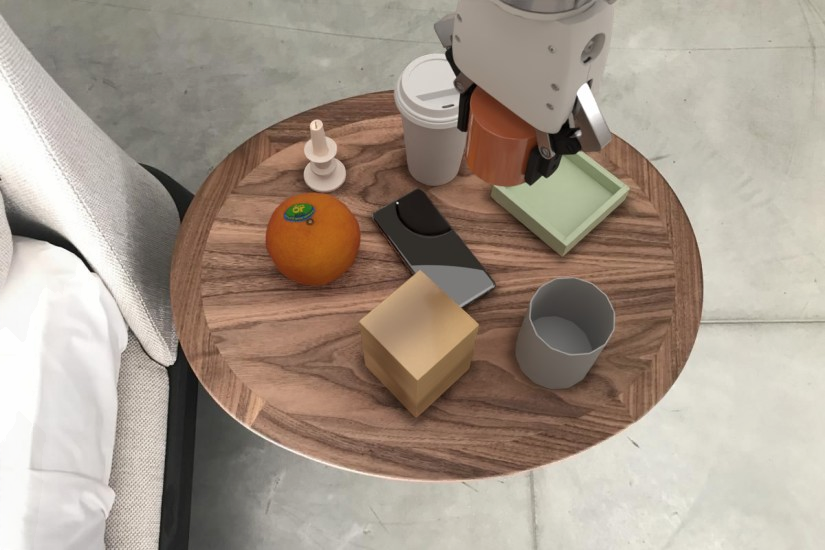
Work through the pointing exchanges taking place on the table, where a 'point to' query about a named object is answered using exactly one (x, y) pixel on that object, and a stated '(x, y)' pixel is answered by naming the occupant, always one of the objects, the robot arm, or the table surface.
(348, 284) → the table surface
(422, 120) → the coffee cup
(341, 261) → the fruit
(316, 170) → the candle
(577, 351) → the cup
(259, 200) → the table surface
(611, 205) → the tray
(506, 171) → the orange cylinder puck
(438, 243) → the smartphone
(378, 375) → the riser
